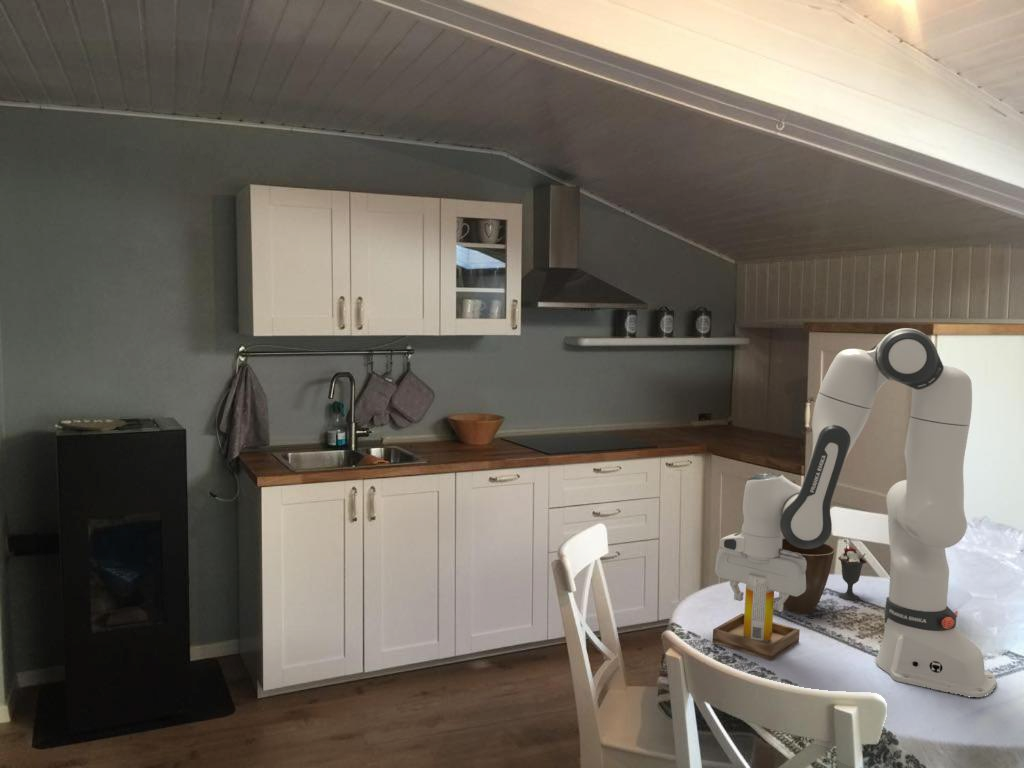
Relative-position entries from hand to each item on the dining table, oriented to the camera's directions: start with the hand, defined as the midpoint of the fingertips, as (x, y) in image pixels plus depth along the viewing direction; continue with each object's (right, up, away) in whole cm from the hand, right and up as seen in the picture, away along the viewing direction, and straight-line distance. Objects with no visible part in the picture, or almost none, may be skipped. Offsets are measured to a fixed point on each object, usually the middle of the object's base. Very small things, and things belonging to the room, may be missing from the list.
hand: (758, 605), depth 193 cm
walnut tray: (0, -9, +1) cm, 9 cm away
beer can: (0, -8, 0) cm, 8 cm away
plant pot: (+17, -7, +23) cm, 29 cm away
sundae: (+33, -6, +33) cm, 47 cm away
